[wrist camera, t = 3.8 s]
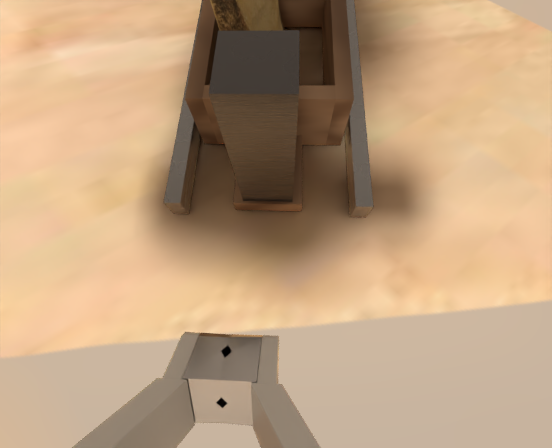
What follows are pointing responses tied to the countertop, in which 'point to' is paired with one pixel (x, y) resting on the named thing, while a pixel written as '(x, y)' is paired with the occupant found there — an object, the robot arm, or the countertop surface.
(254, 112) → the sled
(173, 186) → the rails
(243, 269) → the countertop surface
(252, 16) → the rock
